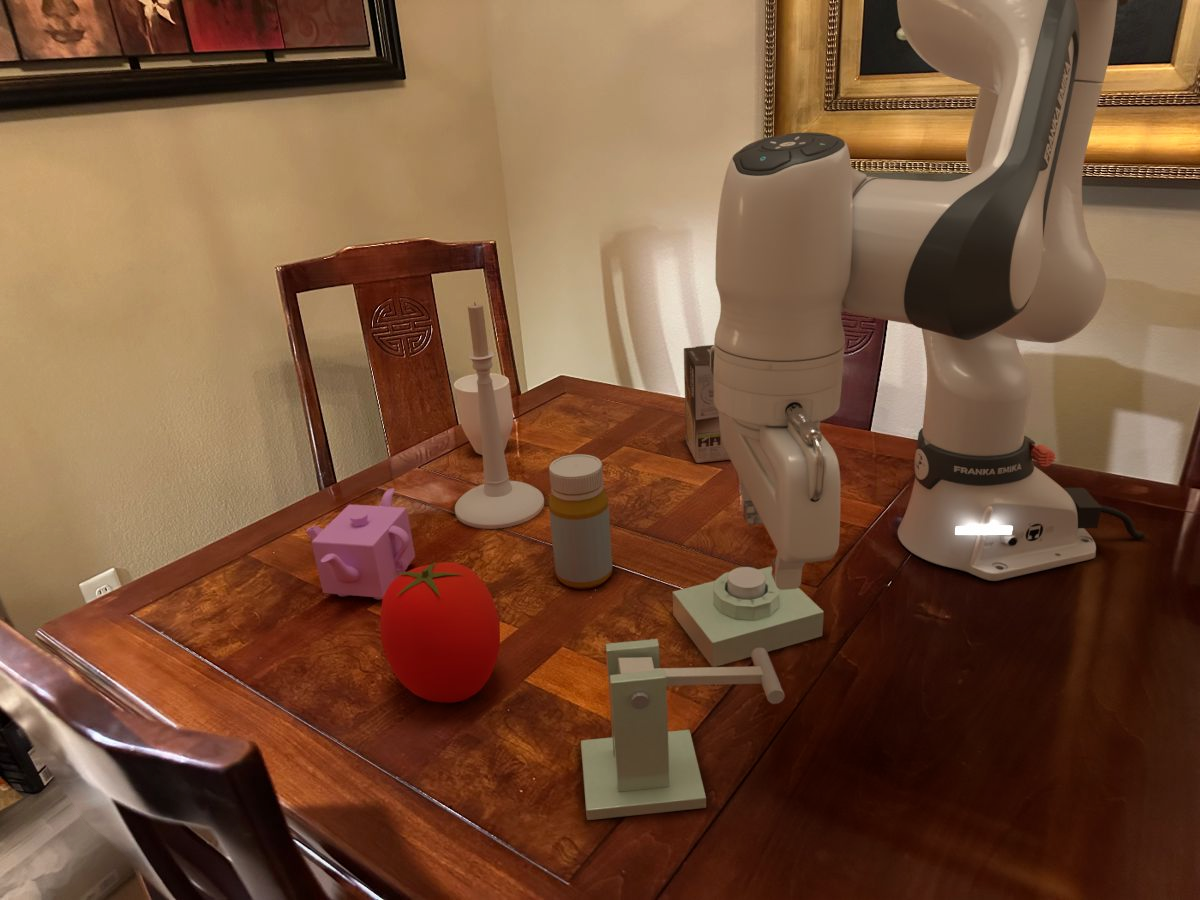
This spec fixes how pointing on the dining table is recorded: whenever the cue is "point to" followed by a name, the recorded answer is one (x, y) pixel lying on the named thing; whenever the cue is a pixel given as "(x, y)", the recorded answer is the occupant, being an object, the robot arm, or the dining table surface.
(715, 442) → the coffee box
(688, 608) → the push button base
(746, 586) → the white push button
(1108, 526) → the dining table surface
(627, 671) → the flush lever
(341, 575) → the teapot
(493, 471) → the candlestick
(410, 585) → the tomato
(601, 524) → the bottle
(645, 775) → the lever bracket
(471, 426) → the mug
